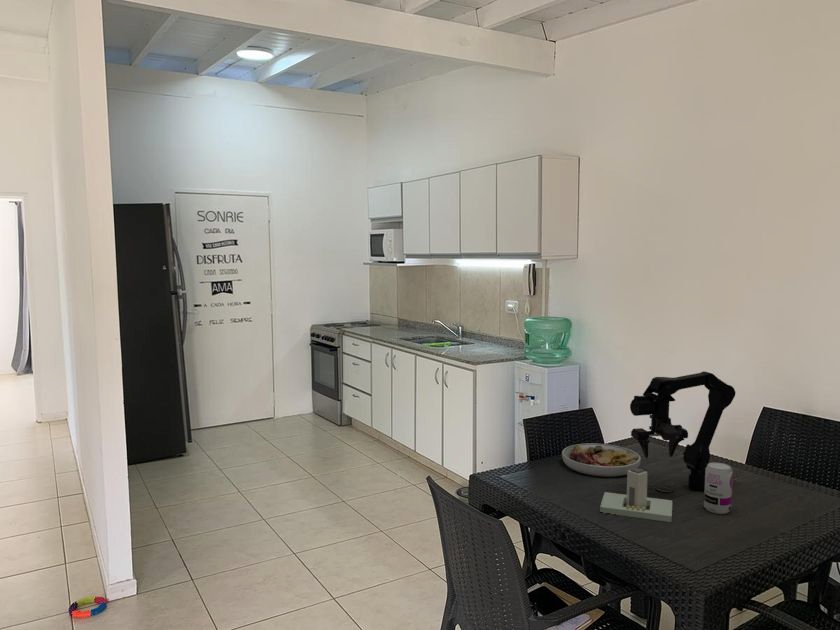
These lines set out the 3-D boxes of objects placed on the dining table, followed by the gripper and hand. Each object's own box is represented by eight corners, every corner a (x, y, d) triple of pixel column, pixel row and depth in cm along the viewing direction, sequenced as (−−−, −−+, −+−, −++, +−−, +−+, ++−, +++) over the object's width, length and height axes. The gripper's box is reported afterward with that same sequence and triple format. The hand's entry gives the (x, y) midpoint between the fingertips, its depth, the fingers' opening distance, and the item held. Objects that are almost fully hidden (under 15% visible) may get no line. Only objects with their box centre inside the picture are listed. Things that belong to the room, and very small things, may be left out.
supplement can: (729, 506, 227) (731, 463, 225) (732, 516, 219) (734, 471, 217) (703, 503, 229) (705, 460, 228) (704, 512, 222) (706, 468, 220)
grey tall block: (635, 505, 228) (636, 466, 226) (646, 510, 224) (647, 470, 223) (625, 509, 225) (626, 469, 224) (636, 513, 221) (637, 473, 220)
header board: (672, 506, 227) (672, 497, 227) (671, 522, 214) (671, 512, 214) (604, 497, 235) (604, 488, 235) (600, 512, 222) (600, 503, 222)
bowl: (589, 450, 290) (589, 432, 289) (654, 467, 268) (655, 447, 267) (546, 466, 269) (546, 446, 269) (613, 485, 247) (613, 464, 247)
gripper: (646, 420, 227) (644, 466, 228) (697, 418, 230) (695, 463, 231) (631, 412, 238) (629, 455, 239) (680, 410, 241) (678, 453, 242)
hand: (658, 457), depth 238 cm, fingers open, 9 cm apart
